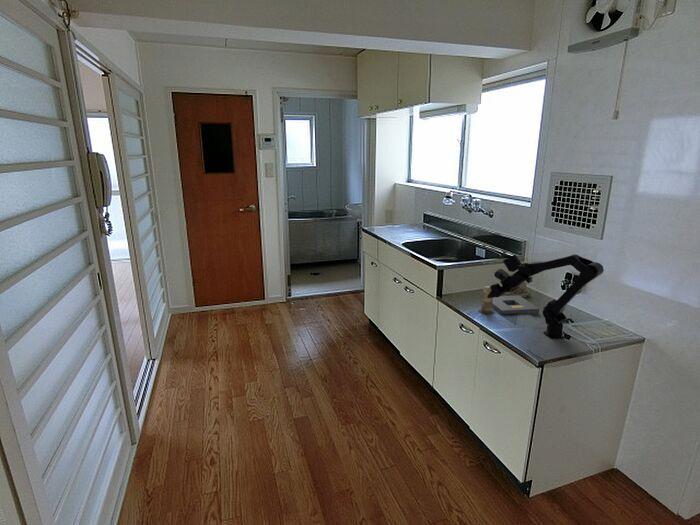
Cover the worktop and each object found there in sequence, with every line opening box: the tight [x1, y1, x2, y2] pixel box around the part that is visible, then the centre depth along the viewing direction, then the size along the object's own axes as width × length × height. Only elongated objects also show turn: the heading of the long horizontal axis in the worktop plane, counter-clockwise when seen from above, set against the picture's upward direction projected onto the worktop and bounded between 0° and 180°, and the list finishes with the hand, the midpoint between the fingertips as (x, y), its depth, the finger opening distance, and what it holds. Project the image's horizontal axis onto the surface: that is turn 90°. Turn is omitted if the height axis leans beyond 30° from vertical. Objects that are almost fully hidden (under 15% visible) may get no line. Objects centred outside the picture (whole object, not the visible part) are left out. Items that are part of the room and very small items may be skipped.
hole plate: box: [492, 295, 540, 315], centre depth 210 cm, size 20×20×3 cm
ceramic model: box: [504, 281, 531, 298], centre depth 230 cm, size 14×11×10 cm
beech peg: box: [480, 285, 493, 313], centre depth 201 cm, size 5×5×13 cm
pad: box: [478, 308, 496, 316], centre depth 203 cm, size 8×8×1 cm
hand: (492, 295), depth 198 cm, fingers open, 9 cm apart
